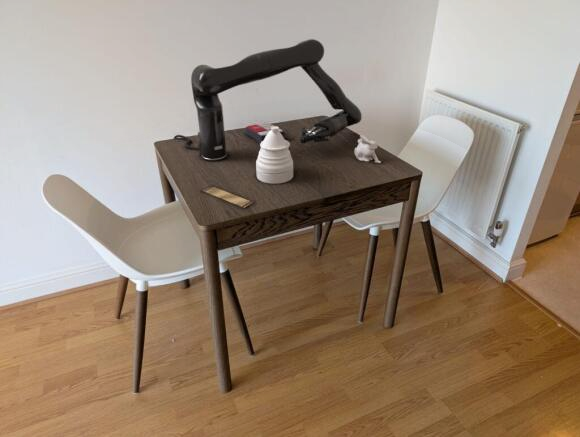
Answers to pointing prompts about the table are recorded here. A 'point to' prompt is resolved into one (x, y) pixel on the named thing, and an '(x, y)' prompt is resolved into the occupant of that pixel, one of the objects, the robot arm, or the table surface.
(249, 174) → the table surface
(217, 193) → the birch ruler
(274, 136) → the honey pot
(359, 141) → the white lumpy figure
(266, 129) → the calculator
